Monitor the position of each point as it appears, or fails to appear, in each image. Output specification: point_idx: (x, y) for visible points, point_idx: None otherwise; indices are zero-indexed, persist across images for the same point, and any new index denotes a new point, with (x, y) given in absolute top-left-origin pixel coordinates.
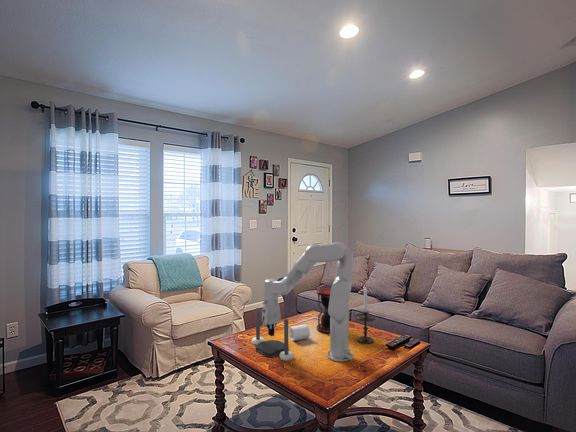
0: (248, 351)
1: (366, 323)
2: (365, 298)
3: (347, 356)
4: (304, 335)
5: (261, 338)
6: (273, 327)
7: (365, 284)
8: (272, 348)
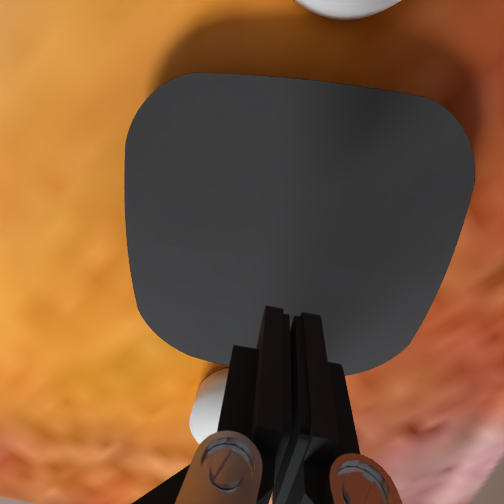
0: (438, 362)
1: None
2: None
3: None
4: None
5: (212, 417)
6: (259, 466)
7: None
8: (349, 190)
